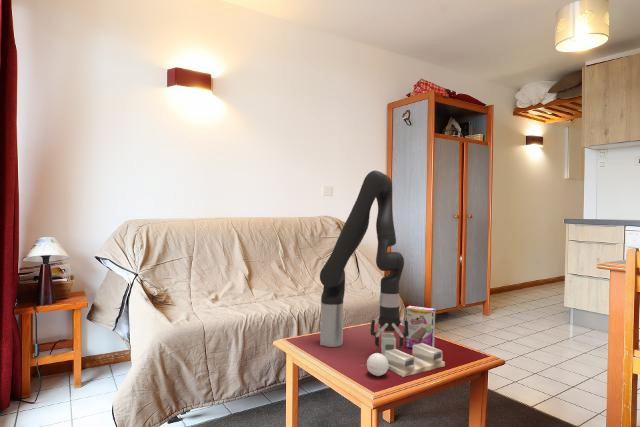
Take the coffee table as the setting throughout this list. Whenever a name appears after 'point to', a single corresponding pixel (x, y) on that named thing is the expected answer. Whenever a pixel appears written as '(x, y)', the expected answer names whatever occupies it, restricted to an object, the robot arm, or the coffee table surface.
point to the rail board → (414, 360)
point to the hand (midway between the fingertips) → (389, 346)
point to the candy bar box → (420, 326)
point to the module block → (387, 342)
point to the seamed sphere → (377, 364)
